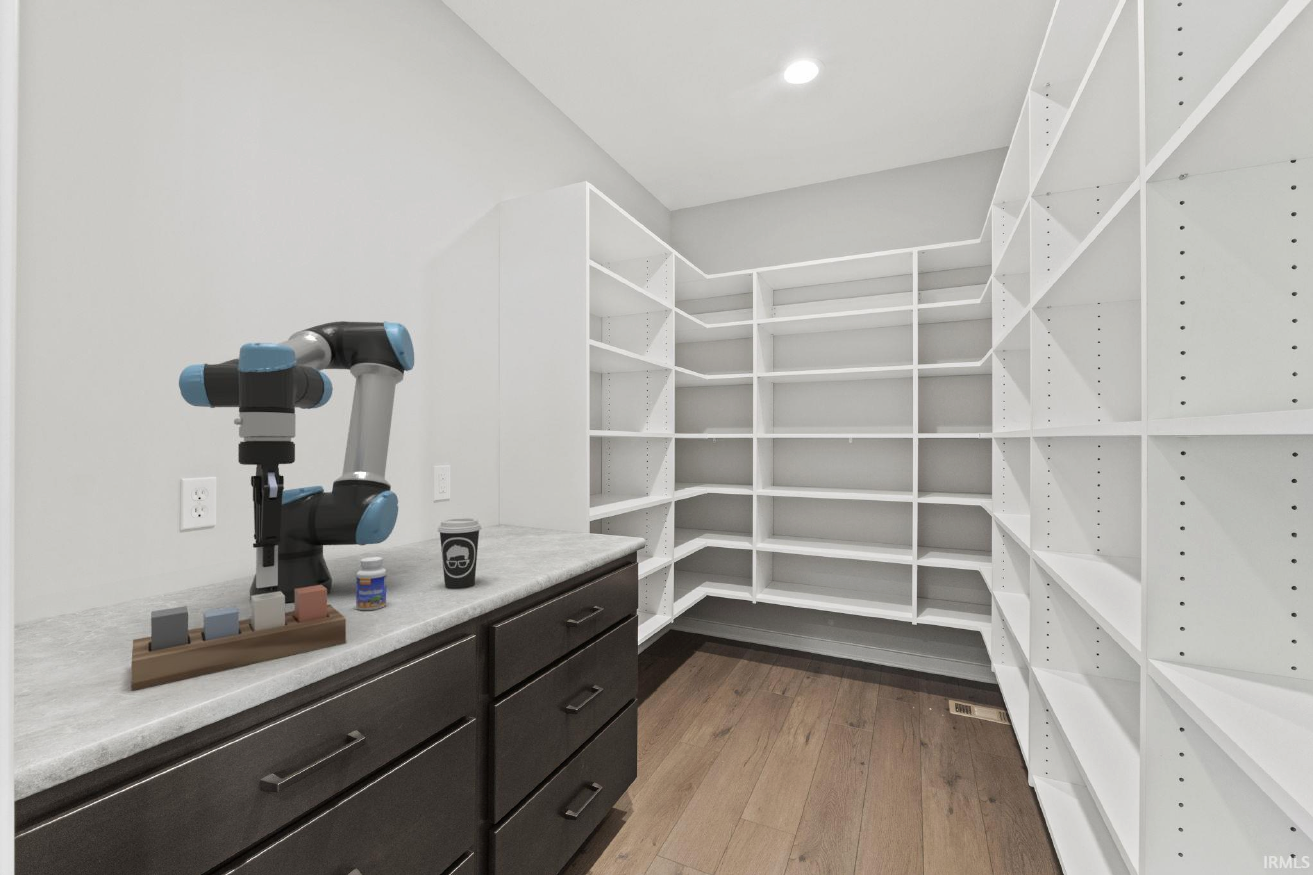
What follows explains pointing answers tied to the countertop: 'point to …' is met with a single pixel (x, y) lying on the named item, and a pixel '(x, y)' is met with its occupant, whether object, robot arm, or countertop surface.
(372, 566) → the pill bottle
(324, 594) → the key brick
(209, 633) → the key blue
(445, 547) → the coffee cup
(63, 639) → the countertop surface
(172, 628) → the key charcoal
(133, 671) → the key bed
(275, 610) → the key ivory
